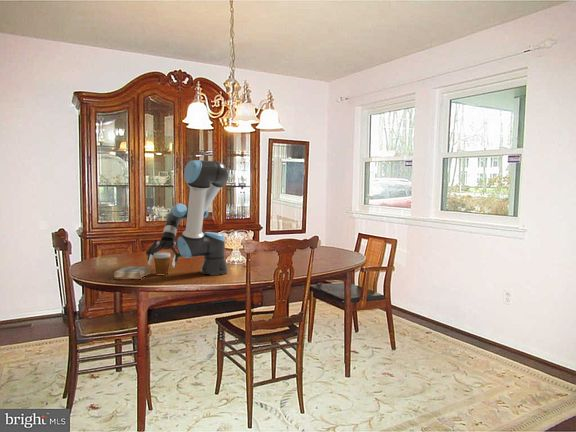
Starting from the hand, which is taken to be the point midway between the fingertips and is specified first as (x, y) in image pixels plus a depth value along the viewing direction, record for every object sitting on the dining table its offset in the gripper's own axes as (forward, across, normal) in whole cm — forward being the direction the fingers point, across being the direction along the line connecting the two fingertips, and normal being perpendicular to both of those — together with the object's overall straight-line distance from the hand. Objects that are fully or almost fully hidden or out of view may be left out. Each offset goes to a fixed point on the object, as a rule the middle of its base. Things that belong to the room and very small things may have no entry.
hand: (160, 265), depth 237 cm
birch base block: (+8, +14, 0) cm, 16 cm away
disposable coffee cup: (+3, 0, -5) cm, 5 cm away
